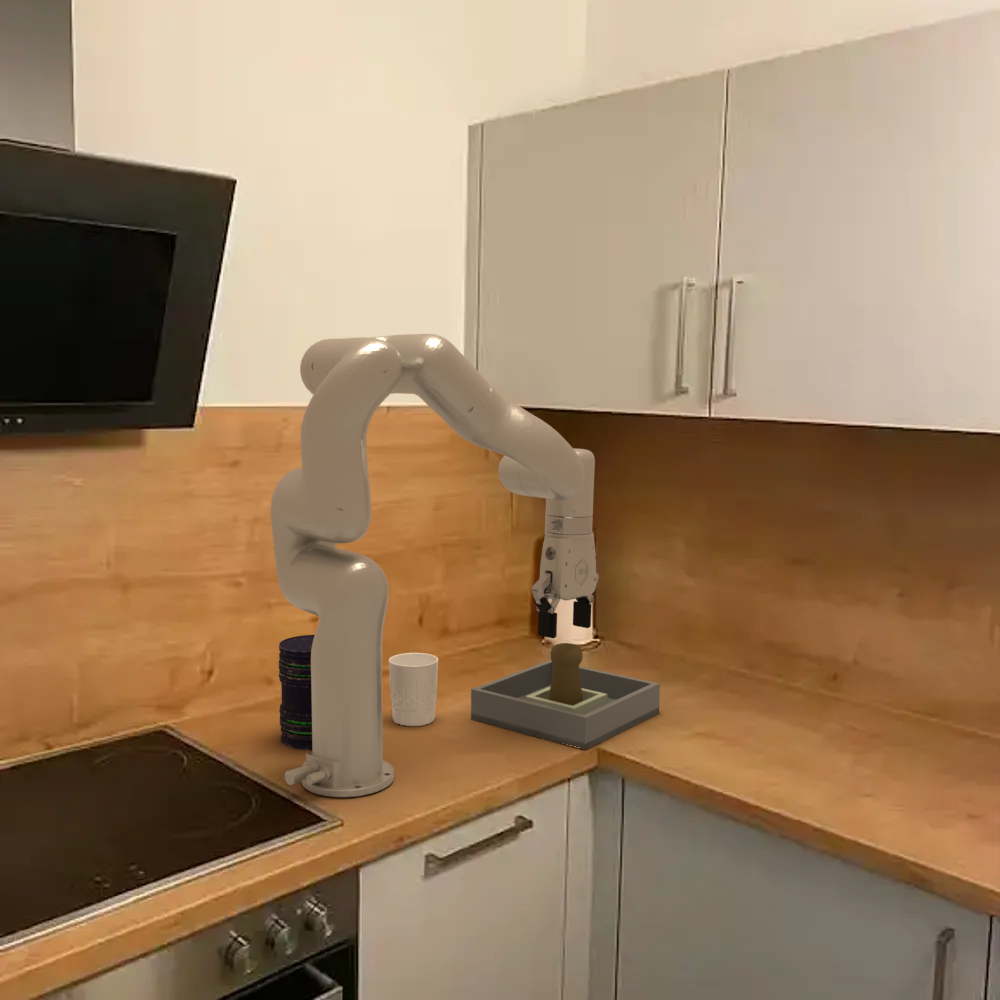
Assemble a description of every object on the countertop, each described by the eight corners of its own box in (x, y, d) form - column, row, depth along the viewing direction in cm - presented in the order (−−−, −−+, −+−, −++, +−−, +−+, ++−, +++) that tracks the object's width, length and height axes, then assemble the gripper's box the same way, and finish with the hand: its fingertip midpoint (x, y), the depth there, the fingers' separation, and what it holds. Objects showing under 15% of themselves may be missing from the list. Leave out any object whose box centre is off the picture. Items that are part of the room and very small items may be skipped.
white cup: (444, 724, 166) (444, 663, 164) (396, 730, 163) (396, 668, 161) (429, 709, 173) (429, 650, 172) (383, 714, 170) (383, 655, 169)
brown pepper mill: (581, 717, 166) (582, 650, 165) (544, 715, 167) (545, 648, 166) (586, 705, 172) (587, 640, 171) (550, 703, 173) (551, 638, 172)
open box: (585, 750, 155) (585, 717, 154) (471, 719, 168) (471, 689, 167) (659, 713, 172) (659, 683, 171) (550, 687, 185) (550, 659, 185)
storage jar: (286, 753, 152) (284, 654, 151) (274, 732, 162) (272, 637, 160) (353, 745, 156) (351, 647, 154) (337, 724, 165) (336, 632, 163)
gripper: (556, 533, 157) (552, 645, 159) (617, 524, 171) (613, 626, 172) (517, 528, 162) (513, 636, 163) (579, 519, 175) (575, 619, 177)
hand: (564, 631), depth 168 cm, fingers open, 9 cm apart
